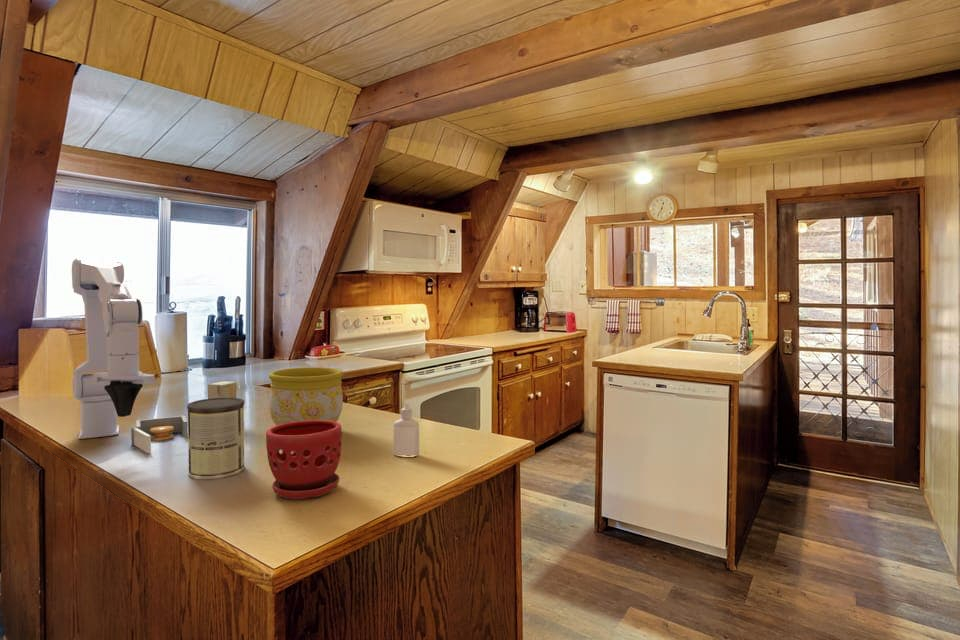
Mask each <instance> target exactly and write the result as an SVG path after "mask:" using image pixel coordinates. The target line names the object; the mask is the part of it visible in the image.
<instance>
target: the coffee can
mask: <svg viewBox="0 0 960 640" xmlns="http://www.w3.org/2000/svg"><path fill="white" fill-rule="evenodd" d="M244 405H245V400H244V399H243V398H239V397H236V398H211V399H208V398H203V399H198V400H194V401H192V402H189V403H188V404H187V405H186V409H187V432H188V437H187V439H188V440H187V441H188V443H187V444H188V476H189V478H192V479H194V480H195V479H196V480H216V479H222V478H223V479H224V478H228V477H231V476H234V475H236V474H239V473H241V472H243V471H244V470H245V466H246V465H245V424H244V423H245V422H244V420H245V419H244V417H245V413H244V412H245V407H244Z"/></svg>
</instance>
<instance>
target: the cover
mask: <svg viewBox="0 0 960 640" xmlns="http://www.w3.org/2000/svg"><path fill="white" fill-rule="evenodd" d="M130 430H131V433H130V434H131V446H135V447H136V448H139V449H140V450H142V451H143V452H145V453H146V454H150V453H152V444H151V443H152V440H151V436H152V435H149V434H147V433H145V432H143V431H141V430H139V429H138V428H137V427H136V426H134V427H131V429H130Z"/></svg>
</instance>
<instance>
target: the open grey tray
mask: <svg viewBox="0 0 960 640" xmlns="http://www.w3.org/2000/svg"><path fill="white" fill-rule="evenodd" d="M159 426H173V427H174V430H172V431H170V434H174V433H181V435H182V437H183V439H185V438H188V419H187V418H186V416H185V415H176V416H175V415H174V416H166V417H158V418H157V417H156V418H145V419H137V420H135V427H137V428H138V429H139V430H141V431H143V432H145V433H147V434H149V435H150V436H154V435H155V433H152V432H150V429H151V428H154V427H159ZM173 432H174V433H173Z"/></svg>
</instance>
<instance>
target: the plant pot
mask: <svg viewBox="0 0 960 640" xmlns="http://www.w3.org/2000/svg"><path fill="white" fill-rule="evenodd" d="M342 437H343V435H342V424H341V423H339V422H338V421H337V422H334V421H327V420H307V421H297V422H290V423H285V424H281V425H277V426H276V425H274V426H272V427H271V428H268V429H267V431H266V432H265V443H266V444H265V445H266V452H267V453H266V454H267V461H268V465H269V469H270V471H271V473H272V476H273V477H274V479H275V480H274V482H273V483H272V490H273V492H274V493H275V494H277V496H280V497H282V498H284V499H291V500H305V499H313V498H316V497H317V498H318V497H321V496H323V495H324V496H325V495H326V494H330V492H331V491H333V490H334V489H335V488H336V487H337V485H338V484H339V482H340V476H339V474H337V473H336V472H337V469H338V466H339V463H340V459H341V455H342V442H343V441H342ZM280 450H282V452H281V453H280ZM292 452H293V453H292Z"/></svg>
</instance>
